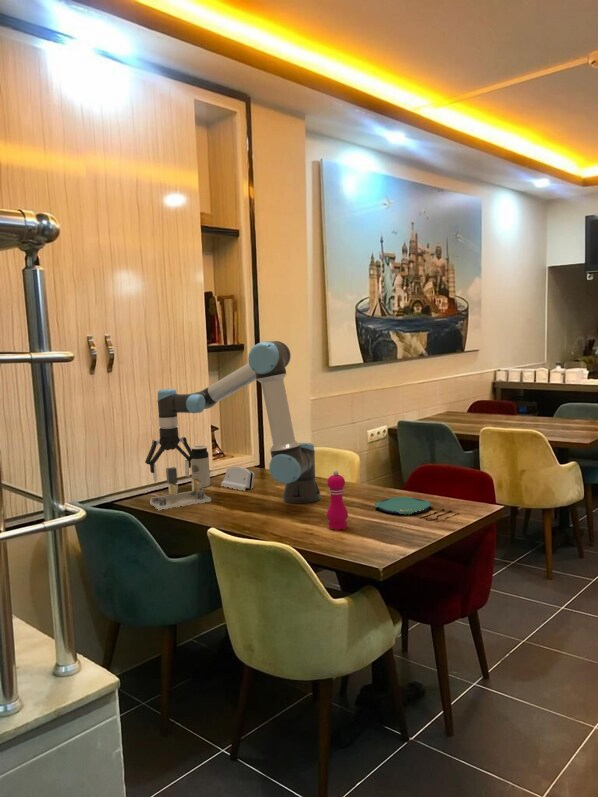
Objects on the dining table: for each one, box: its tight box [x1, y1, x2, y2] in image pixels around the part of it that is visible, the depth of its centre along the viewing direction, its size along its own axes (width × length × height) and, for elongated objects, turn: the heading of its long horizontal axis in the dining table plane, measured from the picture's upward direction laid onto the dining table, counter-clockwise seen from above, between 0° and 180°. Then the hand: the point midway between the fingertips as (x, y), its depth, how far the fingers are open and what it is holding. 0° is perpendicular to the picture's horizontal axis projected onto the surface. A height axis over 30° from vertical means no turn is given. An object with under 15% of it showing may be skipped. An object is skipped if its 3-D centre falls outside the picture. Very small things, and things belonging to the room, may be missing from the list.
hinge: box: [220, 466, 255, 492], centre depth 285 cm, size 17×5×10 cm, turn 46°
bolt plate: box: [149, 478, 212, 511], centre depth 261 cm, size 22×12×8 cm, turn 118°
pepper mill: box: [326, 469, 349, 531], centre depth 219 cm, size 7×7×20 cm
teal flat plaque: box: [374, 496, 433, 515], centre depth 236 cm, size 20×30×2 cm, turn 41°
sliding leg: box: [165, 466, 179, 495], centre depth 261 cm, size 4×8×11 cm, turn 28°
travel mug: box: [190, 444, 211, 488], centre depth 289 cm, size 8×8×18 cm
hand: (171, 478), depth 263 cm, fingers open, 13 cm apart
